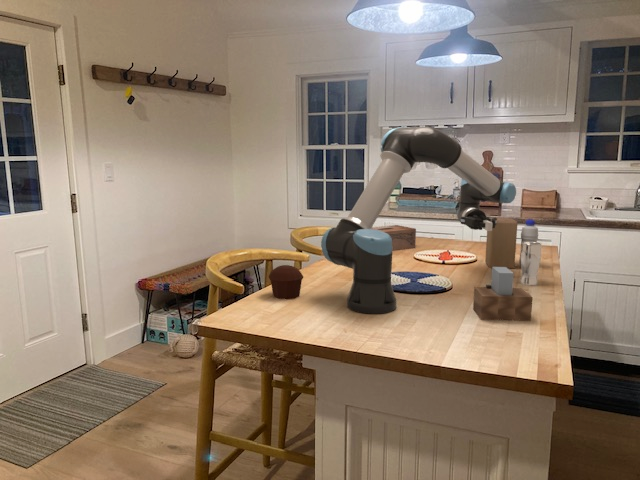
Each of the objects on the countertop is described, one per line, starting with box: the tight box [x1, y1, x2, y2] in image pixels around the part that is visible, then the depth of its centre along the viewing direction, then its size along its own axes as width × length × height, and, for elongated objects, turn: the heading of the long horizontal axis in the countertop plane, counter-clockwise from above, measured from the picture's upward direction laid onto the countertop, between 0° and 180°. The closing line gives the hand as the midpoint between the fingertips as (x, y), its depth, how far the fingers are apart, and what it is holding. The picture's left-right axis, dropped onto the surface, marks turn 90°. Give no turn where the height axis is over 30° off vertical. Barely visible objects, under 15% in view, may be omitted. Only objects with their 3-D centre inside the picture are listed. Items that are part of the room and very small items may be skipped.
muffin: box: [268, 264, 304, 301], centre depth 172 cm, size 12×11×10 cm
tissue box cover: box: [371, 224, 417, 252], centre depth 255 cm, size 26×14×10 cm, turn 122°
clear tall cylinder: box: [519, 242, 542, 287], centre depth 189 cm, size 7×7×15 cm
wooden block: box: [484, 217, 518, 270], centre depth 216 cm, size 10×10×20 cm
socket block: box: [472, 284, 533, 322], centre depth 153 cm, size 14×10×8 cm
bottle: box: [519, 219, 539, 267], centre depth 214 cm, size 7×7×20 cm
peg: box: [490, 267, 514, 295], centre depth 154 cm, size 4×8×13 cm, turn 176°
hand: (490, 226), depth 171 cm, fingers closed
